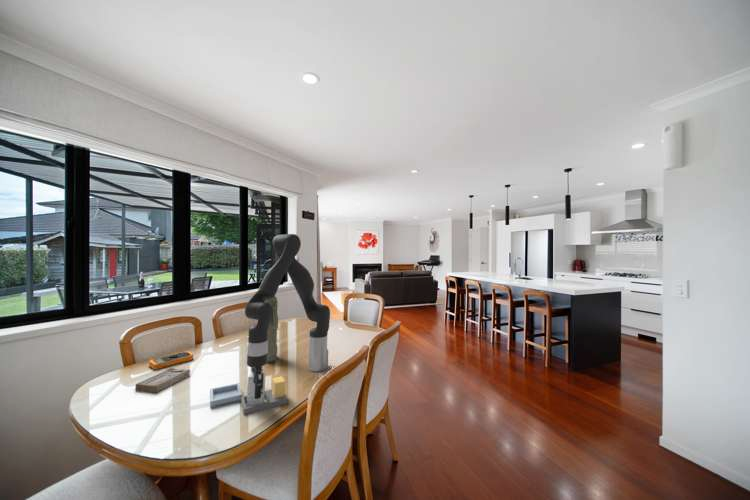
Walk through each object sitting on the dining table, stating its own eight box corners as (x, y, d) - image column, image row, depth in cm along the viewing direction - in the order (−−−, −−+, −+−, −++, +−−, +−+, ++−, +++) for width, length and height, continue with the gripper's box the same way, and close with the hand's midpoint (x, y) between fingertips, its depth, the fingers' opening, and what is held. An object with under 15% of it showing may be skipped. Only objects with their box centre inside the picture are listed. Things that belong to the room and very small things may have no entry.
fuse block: (281, 392, 120) (282, 373, 120) (287, 403, 112) (287, 383, 112) (240, 401, 112) (241, 381, 112) (243, 414, 103) (244, 393, 103)
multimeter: (194, 360, 151) (194, 353, 151) (153, 371, 137) (154, 364, 137) (188, 356, 156) (188, 350, 156) (148, 366, 142) (148, 359, 142)
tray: (239, 388, 122) (239, 382, 122) (241, 400, 113) (242, 394, 113) (209, 394, 116) (210, 388, 116) (210, 408, 107) (210, 401, 107)
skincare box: (246, 408, 107) (247, 377, 107) (248, 402, 112) (249, 372, 112) (263, 406, 109) (264, 376, 109) (265, 400, 113) (265, 371, 113)
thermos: (267, 364, 147) (269, 298, 147) (255, 359, 154) (257, 296, 154) (282, 359, 155) (284, 296, 155) (269, 354, 162) (271, 294, 162)
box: (134, 391, 118) (134, 384, 118) (171, 373, 135) (171, 367, 135) (155, 394, 116) (156, 386, 116) (190, 375, 133) (190, 369, 133)
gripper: (271, 356, 106) (269, 400, 106) (264, 345, 118) (263, 384, 118) (249, 360, 102) (248, 405, 102) (245, 347, 114) (243, 388, 114)
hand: (256, 393), depth 110 cm, fingers open, 6 cm apart
